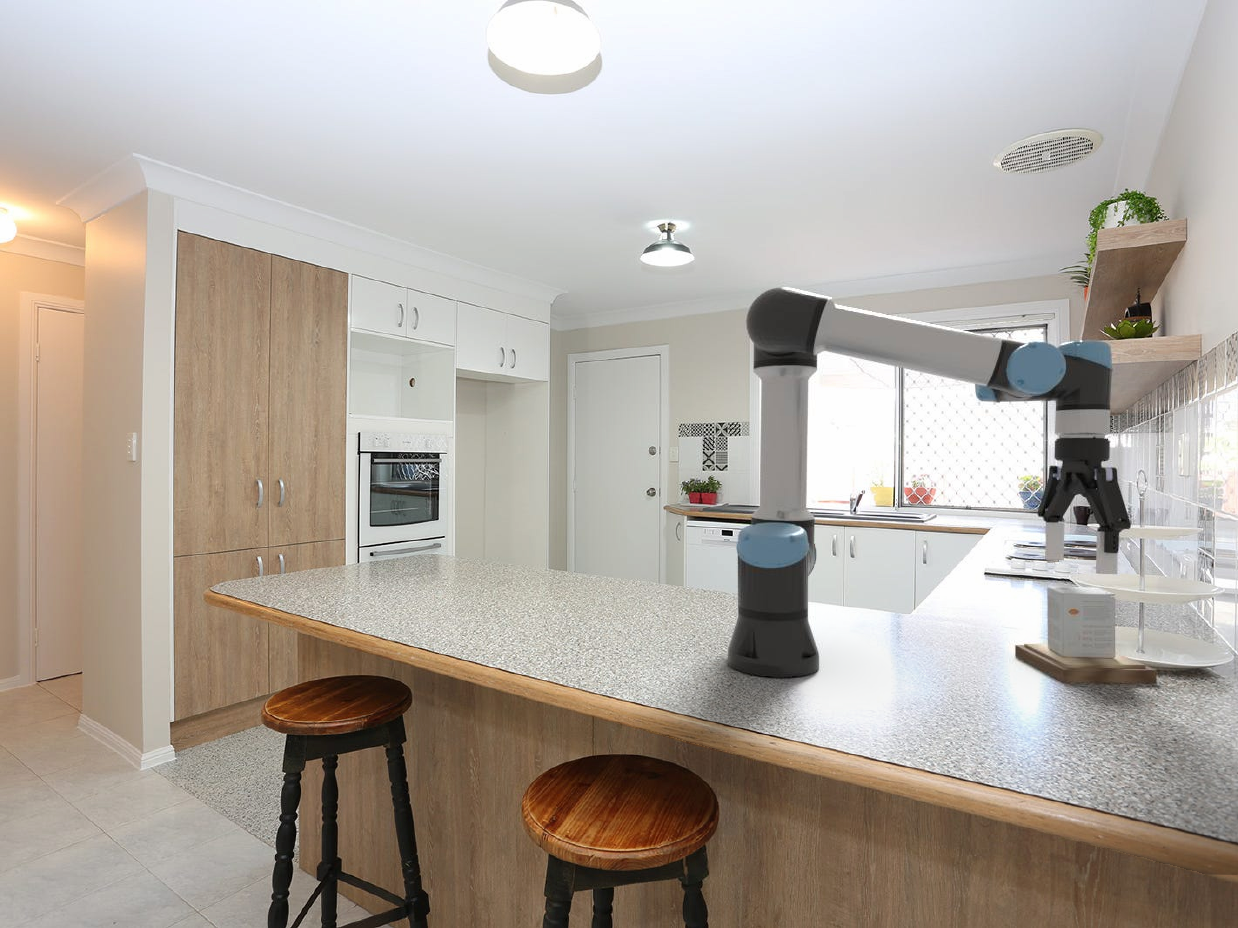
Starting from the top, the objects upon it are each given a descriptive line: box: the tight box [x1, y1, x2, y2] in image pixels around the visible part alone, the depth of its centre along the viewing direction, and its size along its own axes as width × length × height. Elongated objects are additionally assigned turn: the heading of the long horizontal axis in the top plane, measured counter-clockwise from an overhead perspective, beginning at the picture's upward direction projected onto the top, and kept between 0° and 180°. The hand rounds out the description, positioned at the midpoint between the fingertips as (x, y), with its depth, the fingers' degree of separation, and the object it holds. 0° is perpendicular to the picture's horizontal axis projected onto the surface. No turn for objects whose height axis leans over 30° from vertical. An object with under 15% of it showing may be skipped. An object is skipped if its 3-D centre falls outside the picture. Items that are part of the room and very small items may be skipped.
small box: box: [1046, 586, 1116, 658], centre depth 114 cm, size 8×6×10 cm
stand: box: [1014, 643, 1158, 684], centre depth 114 cm, size 14×14×2 cm
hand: (1078, 566), depth 114 cm, fingers open, 13 cm apart
